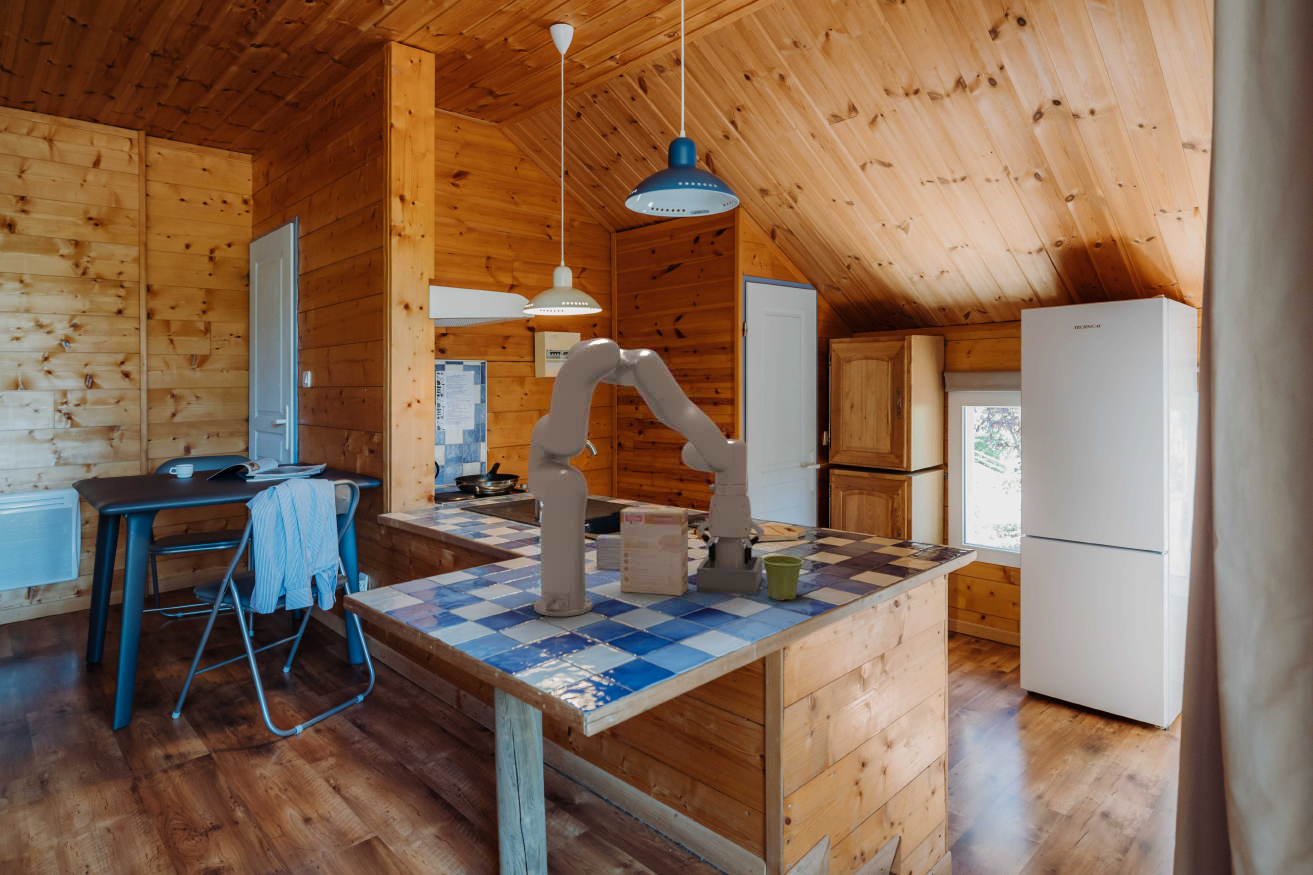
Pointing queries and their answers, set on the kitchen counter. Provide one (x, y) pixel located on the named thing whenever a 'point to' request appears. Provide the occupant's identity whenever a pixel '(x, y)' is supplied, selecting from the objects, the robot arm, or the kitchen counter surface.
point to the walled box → (729, 577)
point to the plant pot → (782, 576)
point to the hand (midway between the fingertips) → (729, 561)
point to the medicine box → (608, 552)
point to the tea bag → (730, 554)
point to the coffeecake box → (654, 550)
